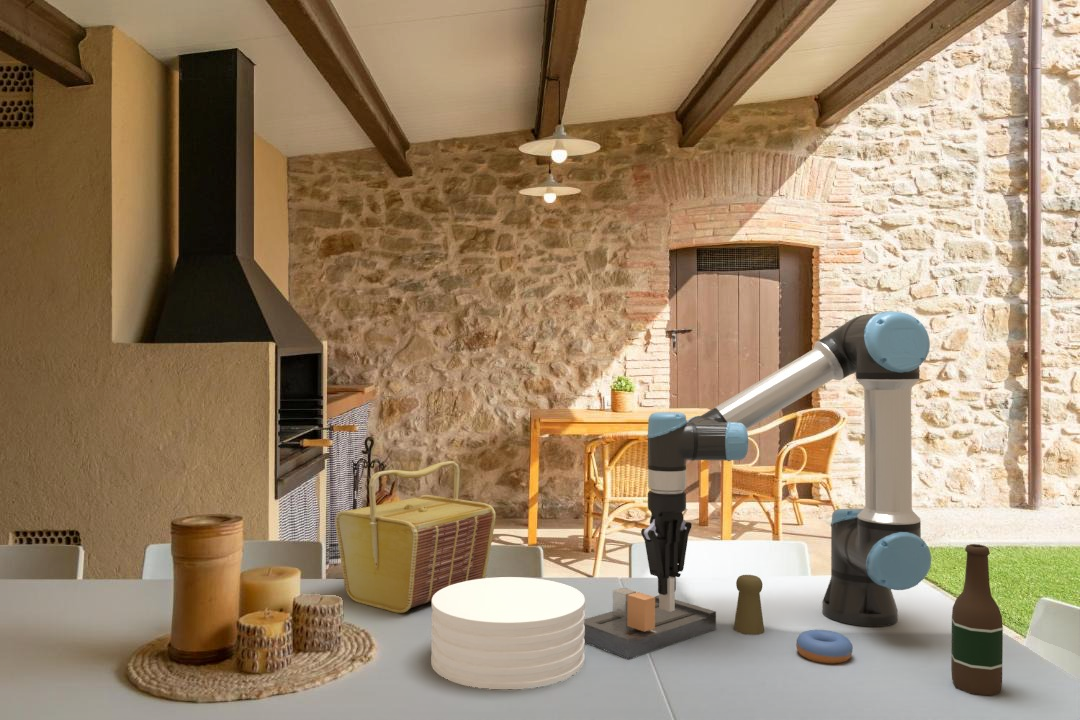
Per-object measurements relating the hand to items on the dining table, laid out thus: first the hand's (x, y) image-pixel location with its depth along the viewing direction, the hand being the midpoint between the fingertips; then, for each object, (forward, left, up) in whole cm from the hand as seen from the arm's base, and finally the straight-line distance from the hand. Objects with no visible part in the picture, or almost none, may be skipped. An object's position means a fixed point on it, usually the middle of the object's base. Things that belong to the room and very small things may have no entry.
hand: (666, 609), depth 162 cm
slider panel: (+4, +1, -6) cm, 7 cm away
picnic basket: (+56, +23, -6) cm, 61 cm away
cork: (-8, -17, -6) cm, 19 cm away
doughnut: (-25, -15, -6) cm, 30 cm away
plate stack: (+11, +31, -6) cm, 34 cm away
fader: (0, +7, -2) cm, 8 cm away
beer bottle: (-50, -22, -6) cm, 55 cm away
